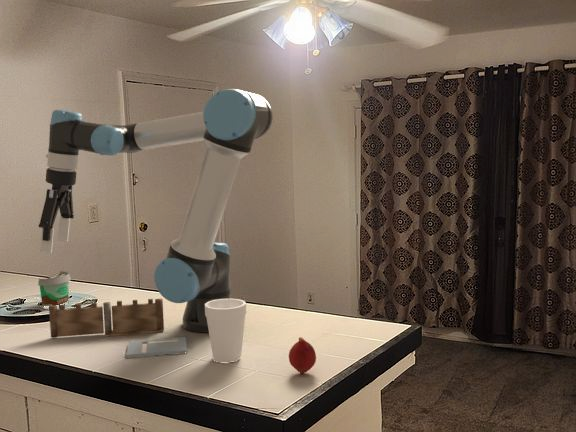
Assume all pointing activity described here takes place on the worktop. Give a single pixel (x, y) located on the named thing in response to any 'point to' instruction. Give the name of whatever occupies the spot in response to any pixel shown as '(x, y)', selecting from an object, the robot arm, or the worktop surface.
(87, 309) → the fence hinged panel
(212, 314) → the foam cup
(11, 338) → the worktop surface
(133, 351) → the card
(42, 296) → the food container
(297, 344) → the onion
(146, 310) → the fence fixed panel
